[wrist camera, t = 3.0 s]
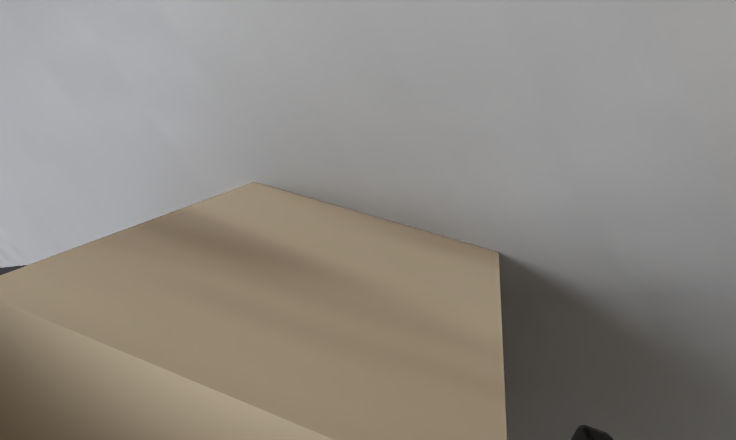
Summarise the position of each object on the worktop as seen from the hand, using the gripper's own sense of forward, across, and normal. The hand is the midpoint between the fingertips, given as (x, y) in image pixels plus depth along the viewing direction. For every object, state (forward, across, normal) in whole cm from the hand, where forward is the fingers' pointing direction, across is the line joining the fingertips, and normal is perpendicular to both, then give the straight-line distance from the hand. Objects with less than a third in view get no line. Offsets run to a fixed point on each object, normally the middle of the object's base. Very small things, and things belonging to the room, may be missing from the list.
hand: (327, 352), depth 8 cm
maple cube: (+1, 0, 0) cm, 1 cm away
